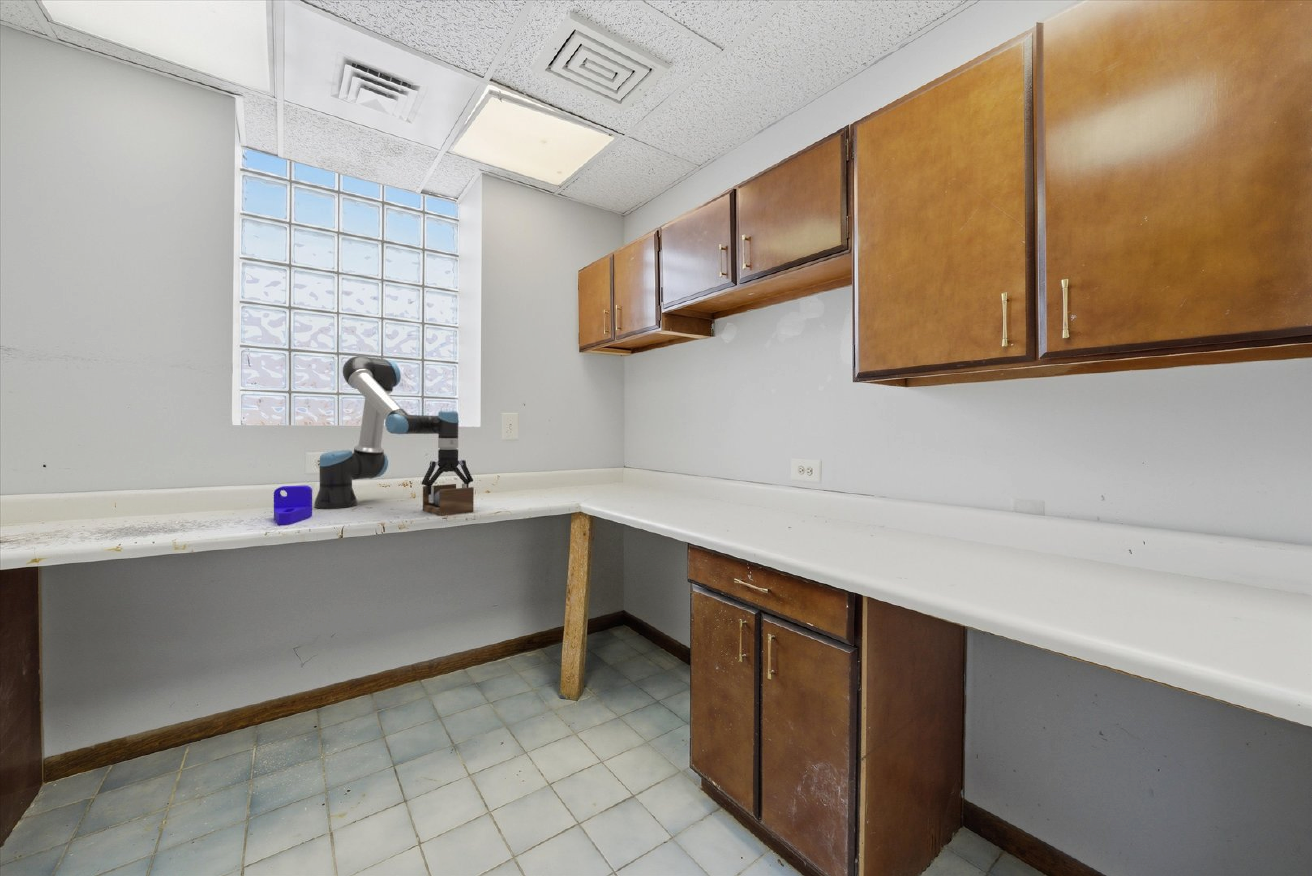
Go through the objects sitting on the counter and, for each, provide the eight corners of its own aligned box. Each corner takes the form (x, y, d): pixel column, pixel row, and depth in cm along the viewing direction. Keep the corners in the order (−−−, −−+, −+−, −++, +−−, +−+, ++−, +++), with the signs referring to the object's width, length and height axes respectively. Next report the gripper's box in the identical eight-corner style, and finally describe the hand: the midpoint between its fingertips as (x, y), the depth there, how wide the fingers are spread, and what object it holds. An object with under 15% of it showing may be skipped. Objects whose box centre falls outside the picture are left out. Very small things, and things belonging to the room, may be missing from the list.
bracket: (276, 518, 182) (276, 486, 182) (312, 516, 187) (312, 485, 187) (263, 527, 166) (263, 492, 166) (303, 524, 171) (303, 490, 171)
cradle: (422, 510, 201) (422, 486, 201) (454, 507, 211) (454, 483, 211) (440, 516, 190) (440, 490, 190) (473, 511, 200) (473, 487, 200)
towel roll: (432, 508, 202) (433, 490, 202) (449, 506, 207) (450, 489, 207) (446, 511, 194) (446, 493, 193) (463, 509, 199) (463, 492, 199)
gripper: (420, 449, 188) (420, 505, 188) (481, 448, 206) (481, 498, 207) (412, 449, 193) (412, 503, 194) (472, 447, 212) (472, 497, 212)
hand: (448, 501), depth 200 cm, fingers open, 13 cm apart
